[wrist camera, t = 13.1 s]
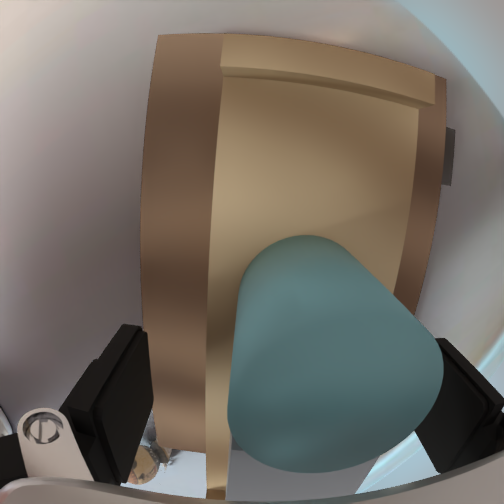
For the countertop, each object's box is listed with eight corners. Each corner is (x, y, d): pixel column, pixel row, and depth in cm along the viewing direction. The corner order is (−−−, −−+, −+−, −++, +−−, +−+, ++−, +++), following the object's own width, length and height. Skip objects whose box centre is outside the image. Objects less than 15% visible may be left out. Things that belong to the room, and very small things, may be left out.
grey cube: (324, 436, 11) (341, 511, 7) (230, 433, 11) (224, 513, 7) (349, 364, 10) (385, 446, 6) (237, 359, 10) (230, 449, 6)
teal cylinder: (348, 353, 10) (398, 463, 5) (233, 347, 10) (222, 471, 5) (375, 242, 9) (472, 313, 4) (244, 228, 9) (236, 301, 4)
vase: (110, 447, 22) (89, 492, 16) (114, 409, 21) (87, 458, 15) (166, 467, 22) (153, 516, 16) (176, 432, 21) (162, 487, 15)
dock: (360, 425, 21) (370, 452, 18) (167, 417, 20) (158, 446, 17) (432, 93, 14) (460, 85, 11) (173, 54, 14) (158, 35, 11)
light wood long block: (306, 445, 17) (317, 512, 12) (213, 441, 17) (205, 510, 12) (370, 103, 12) (434, 73, 7) (234, 84, 12) (223, 33, 7)
